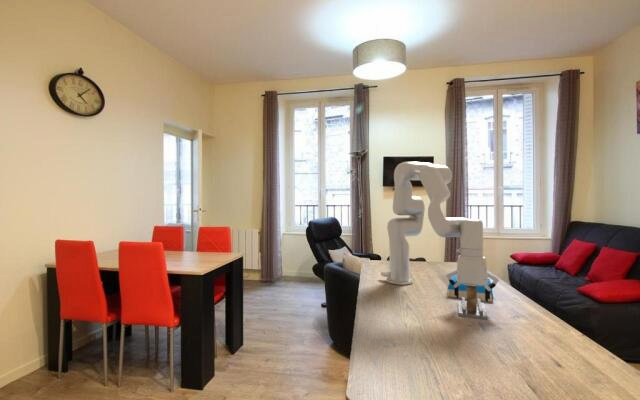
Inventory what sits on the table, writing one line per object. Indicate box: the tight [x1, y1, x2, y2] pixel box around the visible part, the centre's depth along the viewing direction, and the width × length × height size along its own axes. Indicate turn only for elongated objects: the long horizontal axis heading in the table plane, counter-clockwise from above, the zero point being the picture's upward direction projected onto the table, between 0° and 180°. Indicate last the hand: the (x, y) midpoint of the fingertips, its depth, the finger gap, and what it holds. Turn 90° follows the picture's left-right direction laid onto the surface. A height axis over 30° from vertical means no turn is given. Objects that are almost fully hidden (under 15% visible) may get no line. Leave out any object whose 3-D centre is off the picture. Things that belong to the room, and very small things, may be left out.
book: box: [447, 275, 494, 303], centre depth 141 cm, size 17×4×25 cm
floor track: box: [457, 297, 488, 320], centre depth 117 cm, size 15×9×2 cm, turn 157°
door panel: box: [466, 285, 477, 312], centre depth 117 cm, size 3×8×8 cm, turn 157°
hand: (471, 299), depth 117 cm, fingers open, 9 cm apart
